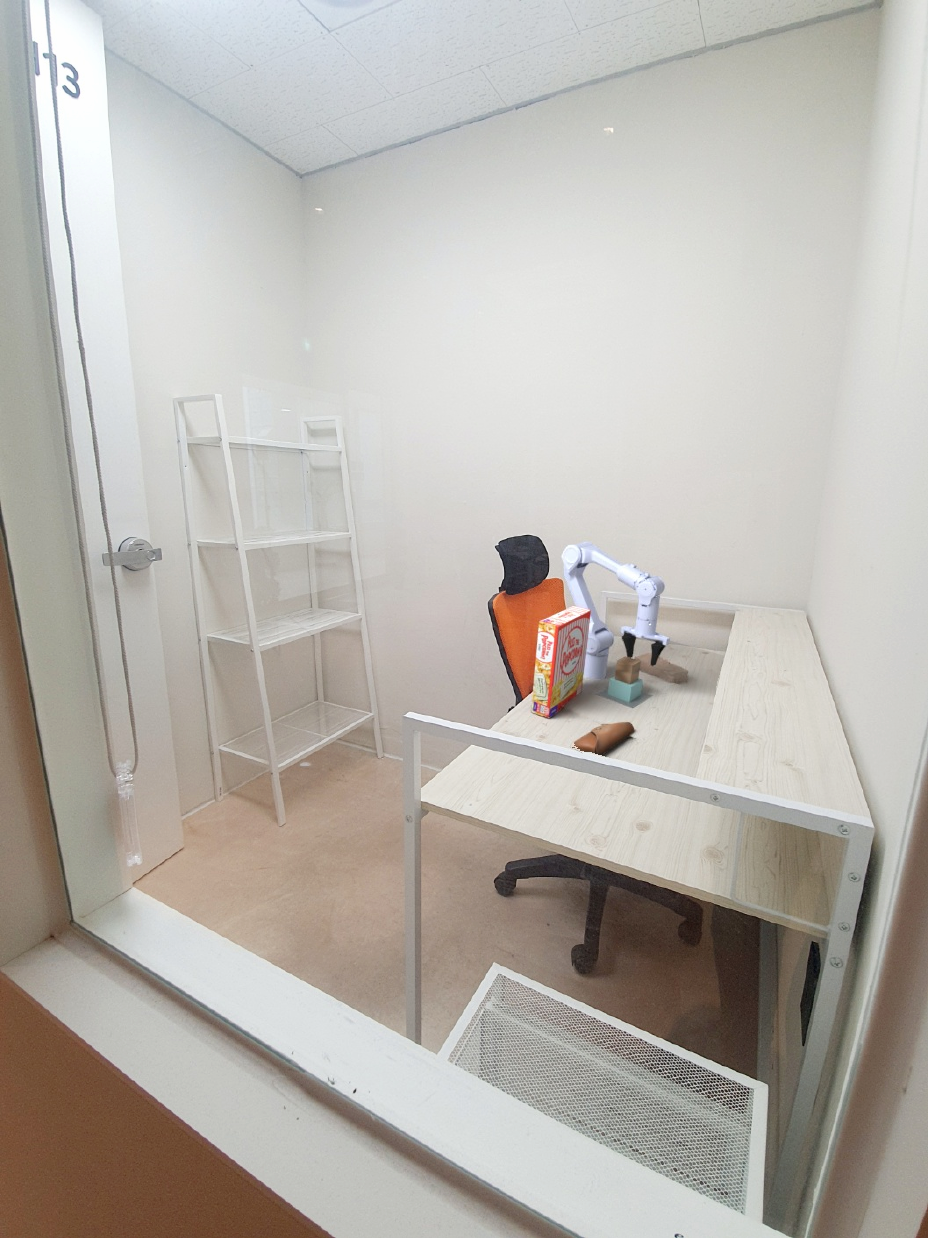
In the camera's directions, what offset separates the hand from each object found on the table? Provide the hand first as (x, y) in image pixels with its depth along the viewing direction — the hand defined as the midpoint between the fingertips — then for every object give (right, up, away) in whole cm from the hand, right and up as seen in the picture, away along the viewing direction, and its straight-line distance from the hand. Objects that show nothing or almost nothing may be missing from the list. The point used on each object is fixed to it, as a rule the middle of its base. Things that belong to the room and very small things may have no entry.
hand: (641, 661), depth 160 cm
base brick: (-5, -10, -1) cm, 11 cm away
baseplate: (-5, -11, 0) cm, 12 cm away
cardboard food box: (-26, -12, -5) cm, 29 cm away
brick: (+12, -6, +17) cm, 22 cm away
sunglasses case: (-18, -19, -24) cm, 35 cm away
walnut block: (-5, -5, -2) cm, 8 cm away
